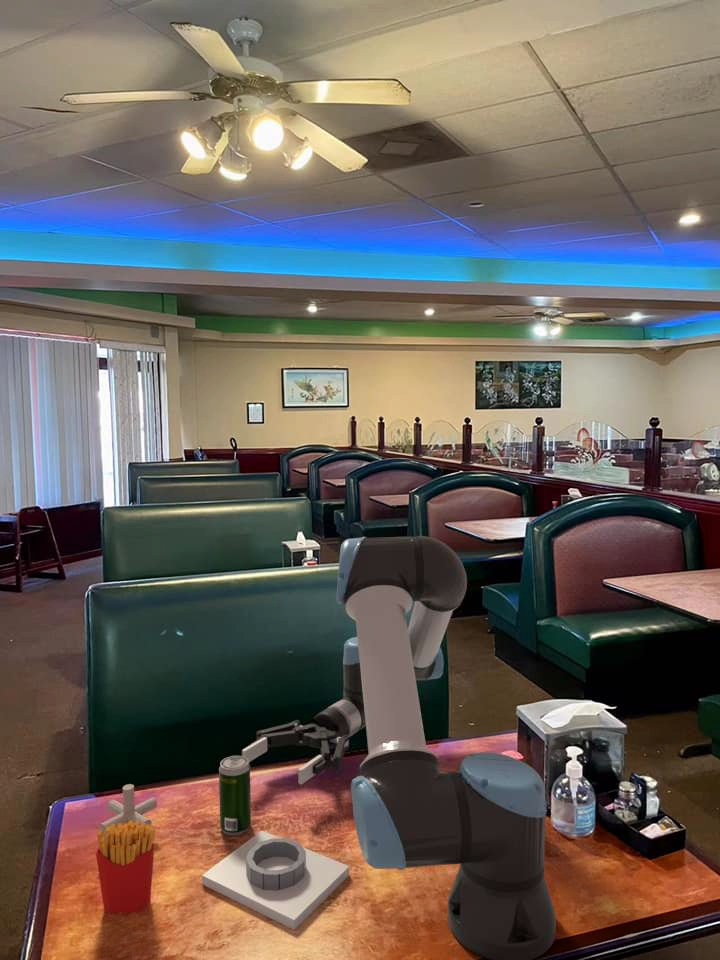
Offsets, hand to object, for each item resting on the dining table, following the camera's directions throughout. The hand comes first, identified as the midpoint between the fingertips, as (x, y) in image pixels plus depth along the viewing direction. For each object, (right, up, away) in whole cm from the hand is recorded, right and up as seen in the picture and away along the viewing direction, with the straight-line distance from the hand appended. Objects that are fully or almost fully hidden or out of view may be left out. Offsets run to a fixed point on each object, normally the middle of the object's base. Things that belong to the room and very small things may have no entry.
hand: (270, 766), depth 131 cm
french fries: (-18, -10, -27) cm, 34 cm away
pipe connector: (-22, -8, -12) cm, 27 cm away
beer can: (-5, -8, -8) cm, 12 cm away
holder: (+4, -9, -22) cm, 24 cm away
